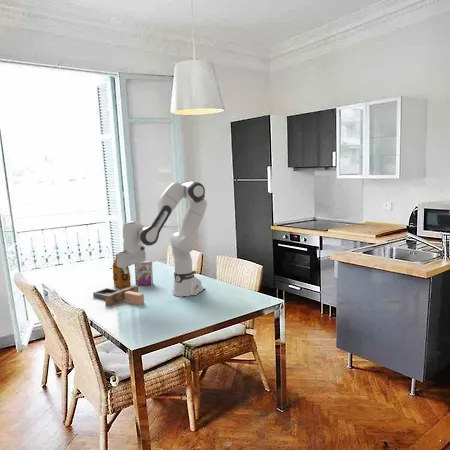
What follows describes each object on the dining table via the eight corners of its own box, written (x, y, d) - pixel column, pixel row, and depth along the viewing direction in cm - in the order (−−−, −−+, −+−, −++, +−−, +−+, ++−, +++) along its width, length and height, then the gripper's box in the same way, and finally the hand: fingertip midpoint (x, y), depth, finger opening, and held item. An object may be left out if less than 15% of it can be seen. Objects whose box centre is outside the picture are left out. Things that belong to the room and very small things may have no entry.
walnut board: (135, 293, 249) (134, 284, 248) (138, 294, 247) (138, 285, 247) (105, 305, 229) (104, 295, 228) (109, 306, 227) (108, 296, 227)
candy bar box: (135, 285, 267) (134, 262, 265) (137, 283, 272) (136, 260, 270) (151, 285, 266) (150, 262, 264) (153, 283, 271) (152, 260, 269)
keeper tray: (107, 292, 254) (106, 287, 253) (125, 296, 245) (125, 291, 244) (93, 297, 245) (93, 292, 244) (111, 301, 236) (111, 296, 235)
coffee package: (118, 289, 259) (116, 257, 256) (112, 285, 269) (110, 254, 266) (132, 286, 265) (131, 255, 262) (125, 282, 275) (124, 252, 272)
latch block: (129, 300, 238) (129, 290, 237) (144, 303, 231) (143, 293, 231) (124, 302, 234) (124, 292, 234) (139, 305, 228) (138, 295, 227)
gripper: (121, 252, 218) (122, 276, 220) (147, 246, 235) (147, 268, 237) (113, 251, 221) (114, 275, 223) (139, 245, 238) (140, 267, 240)
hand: (132, 271), depth 230 cm, fingers open, 8 cm apart
